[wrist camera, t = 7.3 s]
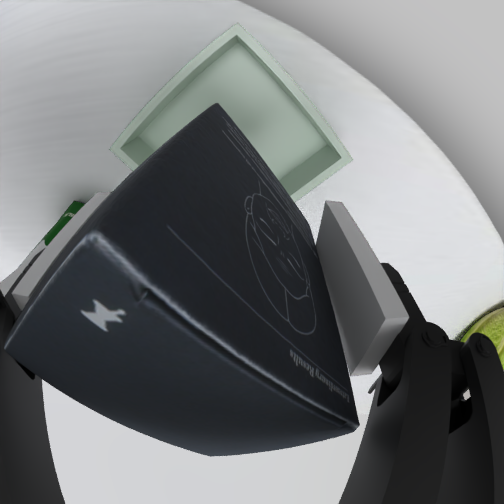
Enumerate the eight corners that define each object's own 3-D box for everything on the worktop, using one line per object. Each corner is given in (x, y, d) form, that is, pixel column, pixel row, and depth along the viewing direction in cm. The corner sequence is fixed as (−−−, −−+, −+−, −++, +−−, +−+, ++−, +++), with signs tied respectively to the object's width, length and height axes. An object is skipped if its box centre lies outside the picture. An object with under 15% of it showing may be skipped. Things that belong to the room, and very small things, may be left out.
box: (130, 173, 13) (-5, 349, 4) (218, 99, 11) (85, 217, 2) (226, 274, 16) (209, 461, 8) (312, 226, 14) (366, 433, 6)
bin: (130, 135, 26) (109, 149, 22) (239, 33, 21) (237, 22, 16) (227, 226, 33) (225, 254, 29) (335, 144, 28) (353, 159, 23)
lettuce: (499, 276, 46) (499, 302, 54) (438, 359, 49) (446, 371, 57) (542, 307, 33) (533, 329, 41) (477, 399, 36) (477, 404, 44)
